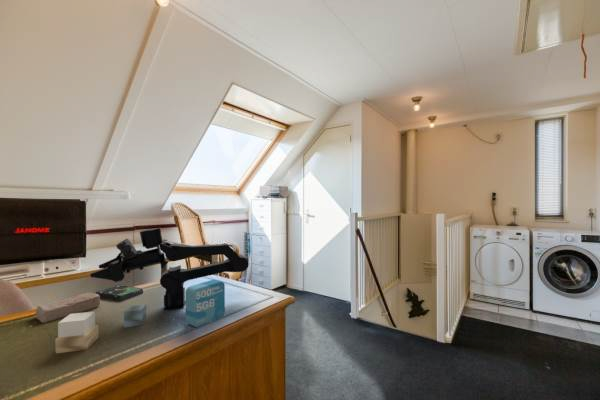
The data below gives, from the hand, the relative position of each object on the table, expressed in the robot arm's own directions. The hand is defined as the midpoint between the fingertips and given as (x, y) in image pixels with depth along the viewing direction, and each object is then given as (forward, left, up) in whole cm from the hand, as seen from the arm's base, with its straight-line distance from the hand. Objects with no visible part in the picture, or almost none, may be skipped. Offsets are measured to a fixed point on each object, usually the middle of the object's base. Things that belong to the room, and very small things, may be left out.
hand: (95, 271), depth 95 cm
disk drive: (0, -23, -16) cm, 28 cm away
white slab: (-4, +20, -12) cm, 24 cm away
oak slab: (-4, +20, -16) cm, 26 cm away
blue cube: (-15, +9, -16) cm, 24 cm away
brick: (+11, -8, -16) cm, 21 cm away
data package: (-37, +13, -16) cm, 42 cm away
